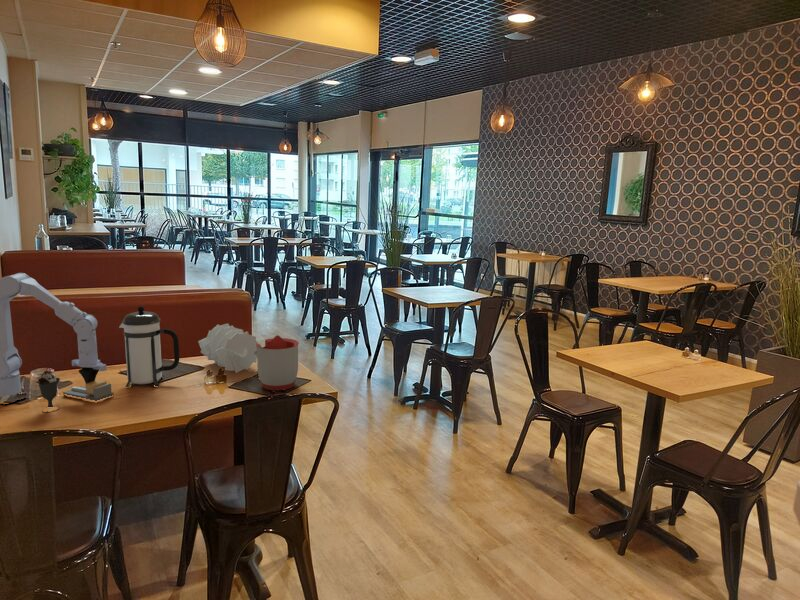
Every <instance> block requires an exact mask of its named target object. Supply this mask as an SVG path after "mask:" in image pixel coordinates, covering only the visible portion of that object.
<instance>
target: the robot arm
mask: <svg viewBox="0 0 800 600" xmlns="http://www.w3.org/2000/svg"><path fill="white" fill-rule="evenodd" d="M18 295H19V296H29V297H34V298H35V299H37V300H38V301H40V302H42V303H43V304H44V305H47V306H48V307H50V308H51V309H53V310H54V314H55V316H57V317H58V318H59V319H61V320H62V321H63V322H65V323H67V324H69V325H70V326H71V327H72V328H73V331H74V333H76V336H77V337H76V339H77V349H78V350H77V352H78V359H77V358H76V359H72V360H71V366H72V367H80V369H78V373H79V374H80V375H81V376H82V378H83V380H84V382H85V384H86V383H89V382H92V381H95V380H96V377H97V375H98V373H99V371H100V372H105V371H107V370H108V369H107V368H108V367H107V364H105V363H102V362H101V359H99V358H98V357H99V356H98V345H97V344H98V343H97V333H96V329H97V327H98V320H97V318H96V317H95V316H94V315H93V314H88V313H87V312H85V311H82V310H80V309H79V308H78V307H77V306H75V303H73V302H69V301H61V300H60V298H57V297H56V296H55V295H54V294H52V293H51V292H50V291H48V289H46V288H45V287H43V286H42V285H41V284H39V282H38V281H37V280H36V279H34V278H33V277H30V275H28V274H26V273H24V272H17V273H15V274H11V275H6V276H3V277H1V278H0V397H3V396H6V395H15V394H17V393H19V392H21V393H22V386H21V385H22V384H21V383H22V382H21V375H20V373H21V372H20V368H21V366H22V364H23V360H22V358H21V356H20V354H19V350H18V348H16V347H15V345H14V335H13V333H14V332H13V325H12V313H11V306H10V302H11V301H12V300H13V299H14V298H15V297H16V296H18Z"/></svg>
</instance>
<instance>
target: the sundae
mask: <svg viewBox="0 0 800 600" xmlns="http://www.w3.org/2000/svg"><path fill="white" fill-rule="evenodd" d="M48 369H49V371H48ZM60 381H61V378H60V377H57V376H56V375H55V374H54V373H53V372H52V371H51V368H50V364H47V368H46V370H44V371H43V373H42V374H41V375H40V378H38V379H37V381H35V383H36V384H38V387H39V390H40V393H41V397H42V398H43V399H44V400H47V407H53V406H54V405H53V400H54V399H55V398H56V397H57V393H58V383H59V382H60Z"/></svg>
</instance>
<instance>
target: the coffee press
mask: <svg viewBox="0 0 800 600" xmlns="http://www.w3.org/2000/svg"><path fill="white" fill-rule="evenodd" d="M160 322H161V317H159V315H158V314H157V313H156V312H152V311H145V308H144V306H143V305H139V306H138V307H137V311H135V312H134V311H133V312H130V313H127V314H126V315H125V316H124V318H123V319H122V322H121V323H120V325H119V329H121V328H122V329H123V336H124V345H125V346H124V347H125V359H126V374H127V375H126V376H127V380H128V381H127V382H126V384H125V388H126V387H129V386H130V385H131V386H132V387H134V385H147V384H151V385H152V386H153V387H154V385H155V386H158V387H159V386H160V385H159V381H160V380H162V379H161V377H162V376H163V377H164V375H163V372H164V371H167V372H168V371H171V370H173V369H175V368H176V369H177V366H178V365H179V363H180V345H179V343H180V342H179V341H180V340H179V337H178V334H177V333H176V332H175V330H172V329H169V328H164V329H161V327H160ZM161 334H165V335H170V337H171V338H172V342H173V356H174V357H173V358H174V360H173V363H172V364H171V365H163V364H162V348H161ZM164 378H165V377H164Z"/></svg>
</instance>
